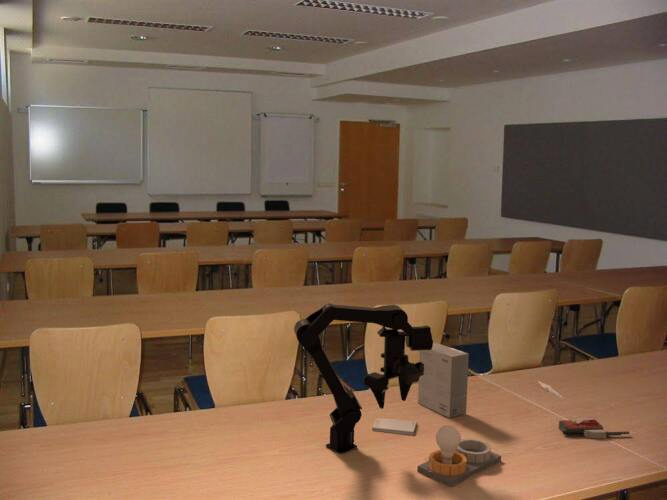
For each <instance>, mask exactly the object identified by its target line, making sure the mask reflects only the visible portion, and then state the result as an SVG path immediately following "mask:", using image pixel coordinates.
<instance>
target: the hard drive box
mask: <svg viewBox="0 0 667 500" xmlns="http://www.w3.org/2000/svg"><path fill="white" fill-rule="evenodd" d="M469 354H470V353H468V352H465V351H462V350H458V349H456V348H453V347H450V346H446V345H444V344H440V343H437V342H433V347H432V349H431V350H420V351H419V362H422V363H423V364H424V372H423V373H424V375H422V376H420V378H419V381H418V394H417V395H418V396H417V398H418V399H417V404H419V405H421V406H423V407H425V408H426V409H430V410H431V411H434V412H436V413H438V414H440V415H442V416H445V417H446V418H450V419H451V418H454V417H458V416H461V415H465V414H467V404H468V403H467V399H468V376H469V356H470V355H469Z"/></svg>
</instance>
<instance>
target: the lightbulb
mask: <svg viewBox="0 0 667 500" xmlns="http://www.w3.org/2000/svg"><path fill="white" fill-rule="evenodd" d="M461 439H462V438H461V433H460V431H459V430H458V429H457V428H456V427H455V426H452V425H443V426H441V427H440V428H438V430H437V432H436V433H435V442H436V444H437V446H438V447H439V450H441V454H442V464H448V465H452V458H453V455H454V452H455V450H456V448H457V447H458V446H459V444H460V440H461Z"/></svg>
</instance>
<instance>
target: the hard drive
mask: <svg viewBox="0 0 667 500" xmlns="http://www.w3.org/2000/svg"><path fill="white" fill-rule="evenodd" d="M417 425H418V422H417V421H411V420H401V419H394V418H393V419H392V418H386V417H385V418H383V417H376V419H375V421H374V423H373V425H372V429H371V430H372V432H373V431H375V432H384V433H391V434H399V435H409V436H414V434H415V431H416V428H417Z"/></svg>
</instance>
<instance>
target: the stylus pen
mask: <svg viewBox="0 0 667 500" xmlns="http://www.w3.org/2000/svg"><path fill="white" fill-rule="evenodd" d="M538 384H539V385H538V386H539V387H540V388H541V389H542V390H543V391H545V392H549V393H550V394H552V395H554V396H556V397H558V398H560V399H562V400H565V398H564V397H563V396H562V395H561V394H559V392H557V391H556V390H555V389H554V388H553V387H552V386H551V385H549V384H546V383H544V382H541V381H540V380H538Z"/></svg>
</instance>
